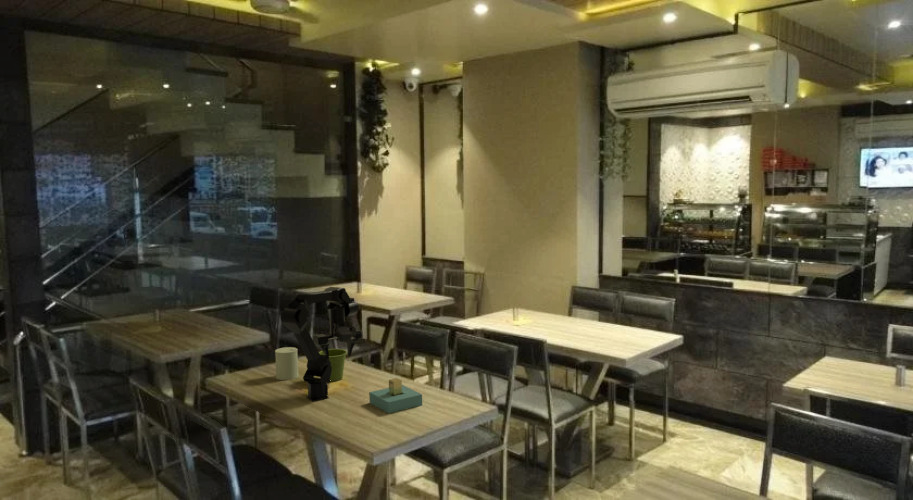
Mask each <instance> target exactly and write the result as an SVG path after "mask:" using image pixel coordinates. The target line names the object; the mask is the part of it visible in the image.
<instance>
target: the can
mask: <svg viewBox="0 0 913 500" xmlns="http://www.w3.org/2000/svg"><path fill="white" fill-rule="evenodd" d="M298 350H299V349H298V348H296V347H293V346H292V347H291V346H289V347H288V346H287V347H286V346H285V347H281V348H277V349H275V350H274V354H275V379H277V380H280V381H289V380H294V379H297V378H298V377H299V376H300V375H299V361H298Z"/></svg>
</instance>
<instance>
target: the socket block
mask: <svg viewBox="0 0 913 500" xmlns="http://www.w3.org/2000/svg"><path fill="white" fill-rule="evenodd" d="M368 395H369V403H370V404H371V405H373V406H375V407H377V408H378V409H380V410H382V411H383V412H384V413H385V412H386V413H388V414H393V413H395V412H400V411H404V410H407V409H412V408H413V409H414V408H417V407H420V406H423V394H422V393H420V392H418V391H416V390H414V389H412V388H409V387H408V386H405V385H404V384H402V394H401V395H397V396H391V395H389V387H386V388H382V389H378V390H372V391H370V392H369V393H368Z"/></svg>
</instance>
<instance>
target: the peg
mask: <svg viewBox="0 0 913 500" xmlns="http://www.w3.org/2000/svg"><path fill="white" fill-rule="evenodd" d="M402 385H403V383H402V379H400V378H398V377H394V378H391V379H388V388H389V395H391V396H397V395H401V394H402Z"/></svg>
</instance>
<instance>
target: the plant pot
mask: <svg viewBox="0 0 913 500" xmlns="http://www.w3.org/2000/svg"><path fill="white" fill-rule="evenodd" d="M328 351H329V361H330V362H331V367H332V371H331V376H330V380H331V381H330V382H338V381H340V380H342V379H343V376H344V368H345V363H346V362H345V361H346V357H347V355H348V350H346V349H343V348H330V349H329V348H328ZM319 353H320V355H324V352H323V350H320V351H319Z"/></svg>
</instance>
